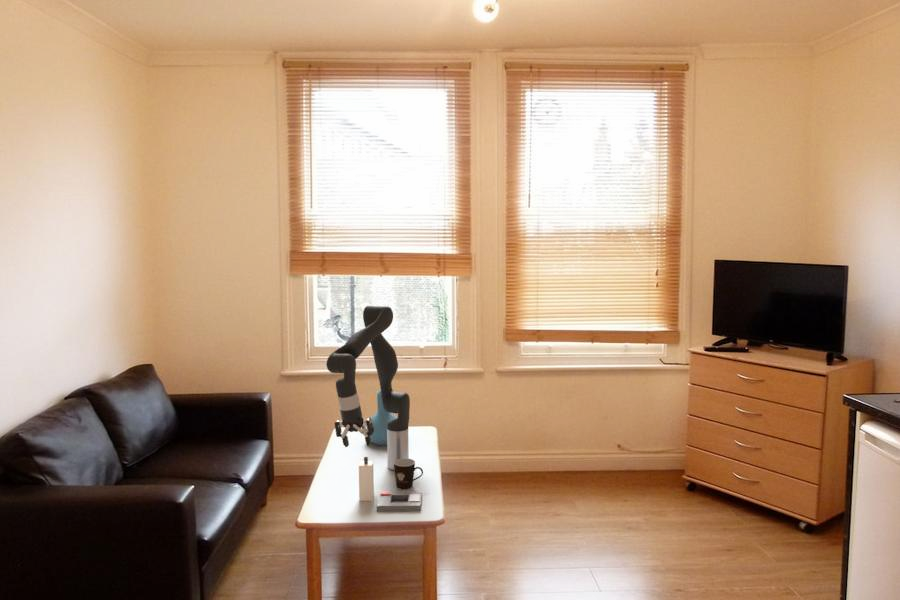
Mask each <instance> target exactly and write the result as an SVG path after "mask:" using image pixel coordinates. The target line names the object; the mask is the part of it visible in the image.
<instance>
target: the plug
mask: <svg viewBox="0 0 900 600" xmlns="http://www.w3.org/2000/svg"><path fill="white" fill-rule="evenodd" d="M374 479H375V478H374V460H369V456H363V461H361V460H360V461H359V464H358V489H359V490H358V492H359V493H358V495H359V496H358V497H359V499H358V500H359V502H373V500H374V497H375V490H374V489H375V485H374V482H375V481H374Z"/></svg>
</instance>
